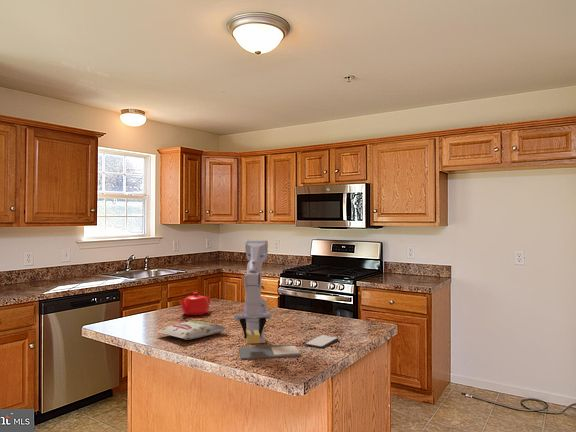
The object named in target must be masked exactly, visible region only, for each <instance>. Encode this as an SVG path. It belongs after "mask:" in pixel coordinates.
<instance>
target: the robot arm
mask: <svg viewBox="0 0 576 432" xmlns="http://www.w3.org/2000/svg"><path fill="white" fill-rule="evenodd" d="M244 244H245V247H244V248H245V249H244V250H245V257H246V260H247V261H248V262H247V266H246V271H245V272H246V273H245V274H244V277H243V278H244V280H243V283H244V292H245V301H244V307H243V313H236V314H235V313H234V314H233V320H234V321H239V323H240V325H241V328H242V331H243V335H244V336H243V338H244V339H245V340H246V337H247V335H246V331H247V330H258V332H259V334H260V343H259V344H265V343H267V342H266V339H265V338H264V337H265V334H264V333H265V325H266V323H267V320H272V313H271V312H268V305H267V304H268V303H267V301H266V300H265V299H264V298H263V297H262V269H263V268H262V267H263V266H262V265H263V263H264V261H266V260H268V255H269V254H268V252H269V249H268V248H269V242H268V240H267V239H262V240H261V239H260V240H259V239H256V240H255V239H252V240H251V239H250V240H249V239H246V240H245V243H244Z"/></svg>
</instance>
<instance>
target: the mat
mask: <svg viewBox="0 0 576 432" xmlns="http://www.w3.org/2000/svg"><path fill="white" fill-rule="evenodd" d="M238 353H239V357H240V360H242V361H243V360H260V359H261V360H262V359H276V358H277V359H279V358H280V359H281V358H296V357H302V355H301V352H300V351H299V350H298V348H297V346H296V345H295V344H279V345H278V344H277V345H260V346H259V345H256V346H238Z"/></svg>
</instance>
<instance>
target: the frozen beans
mask: <svg viewBox="0 0 576 432" xmlns="http://www.w3.org/2000/svg"><path fill="white" fill-rule="evenodd" d="M226 329H229V327H227V326H224V325H220V324H218V323H212V322H207V321H202V320H192V321H185V322H181V323H175V324H172V325H169V326H167V327H164V328H161V329H158V331H157V333H160V334H162V335H166V336H171V337H174V338H178V339H183V340H185V341H188V340H189V341H190V340H195V339H198V338H199V339H200V338H202V337H203V338H204V337H207V336H208V337H209V336H210V335H214V334H217V333H222V332H223V331H224V330H226Z"/></svg>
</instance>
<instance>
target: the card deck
mask: <svg viewBox="0 0 576 432" xmlns="http://www.w3.org/2000/svg"><path fill="white" fill-rule="evenodd" d="M246 335H247V337H246V339H245V342H246V344H248V345H249V344H251V345H252V344H261V343H260V334H259V332H258V330H247V329H246Z"/></svg>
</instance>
